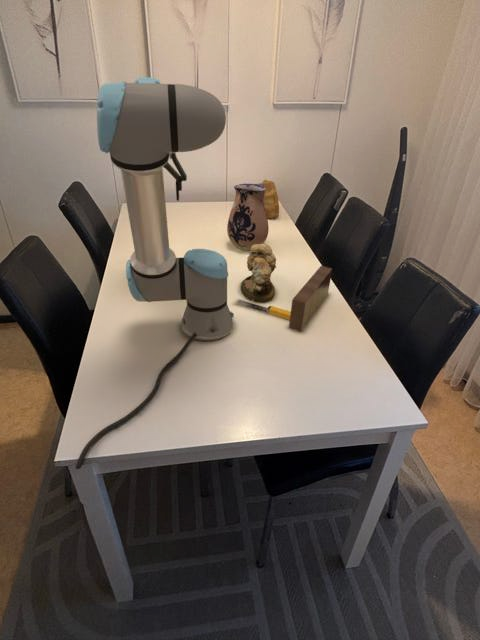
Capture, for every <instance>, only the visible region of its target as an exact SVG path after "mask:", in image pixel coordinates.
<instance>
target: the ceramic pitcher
mask: <svg viewBox="0 0 480 640" xmlns="http://www.w3.org/2000/svg"><path fill="white" fill-rule="evenodd" d="M233 188H234V190H235V196H234V201H233V203H232V207H231V210H230V212H229V215H228V220H227V227H226V232H227V236H228V239H229V241H230V242H231V244H232V245H233V246H234V247H236V248H238V249H240V250H244V251H251V247H252V246H253V245H255V244H258V245H259V244H265V241H266V240H267V238H268V235H269V229H270V228H269V221H268V218H267V215H266V211H265V207H264V197H265V190H266V188H265V187H264V185H263V184H262V182H259V183H240V184H236V185H234V186H233Z"/></svg>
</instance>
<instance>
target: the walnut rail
mask: <svg viewBox="0 0 480 640" xmlns="http://www.w3.org/2000/svg"><path fill="white" fill-rule="evenodd" d="M332 273H333V268H332V267H329V266H324V265H320V266H319V268H317V270H316V271H315V272H314V273H313V274H312V275H311V277H310V278H309V279H308V280H307V281H306V283H305V284H304V285H303V286H302V287H301V288H300V290H299V291H298V292H297V293H296V294H295V296H294V297H293V298H292V300H291V307H290V312H291V315H290V320H289V324H288V329H292V330H295V331H298V332H302V331H303V330H304V328H305V327H306V326H307V324H308V323H309V321H310V320H311V319H312V317H313V316H314V314H315V313H316V312H317V310H318V309H319V307H321V305H322V304H323V302H324V301H325V299H326V298H327V296H328V295H329V291H330V285H331V279H332Z"/></svg>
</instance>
